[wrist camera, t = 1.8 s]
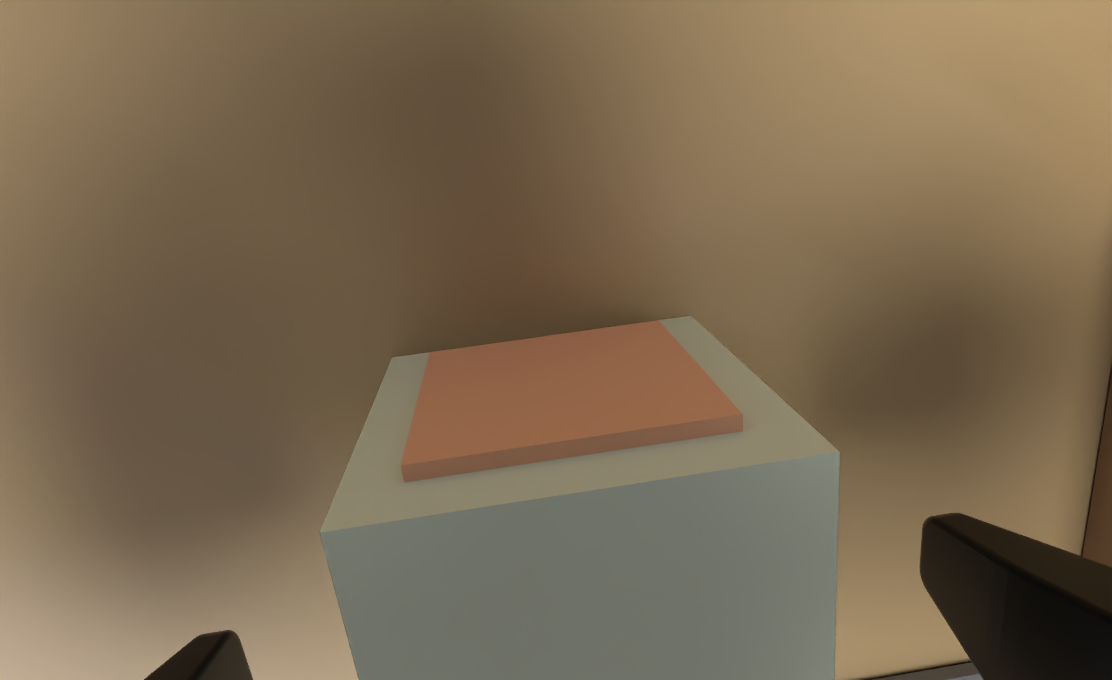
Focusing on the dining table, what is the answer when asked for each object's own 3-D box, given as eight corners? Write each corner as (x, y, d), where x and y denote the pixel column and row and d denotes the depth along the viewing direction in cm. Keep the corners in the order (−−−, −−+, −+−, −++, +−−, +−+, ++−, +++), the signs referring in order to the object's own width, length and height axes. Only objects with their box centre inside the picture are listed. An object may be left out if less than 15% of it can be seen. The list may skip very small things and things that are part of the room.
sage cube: (688, 303, 11) (840, 433, 6) (702, 562, 13) (831, 820, 8) (390, 344, 11) (313, 514, 6) (443, 604, 12) (416, 898, 8)
